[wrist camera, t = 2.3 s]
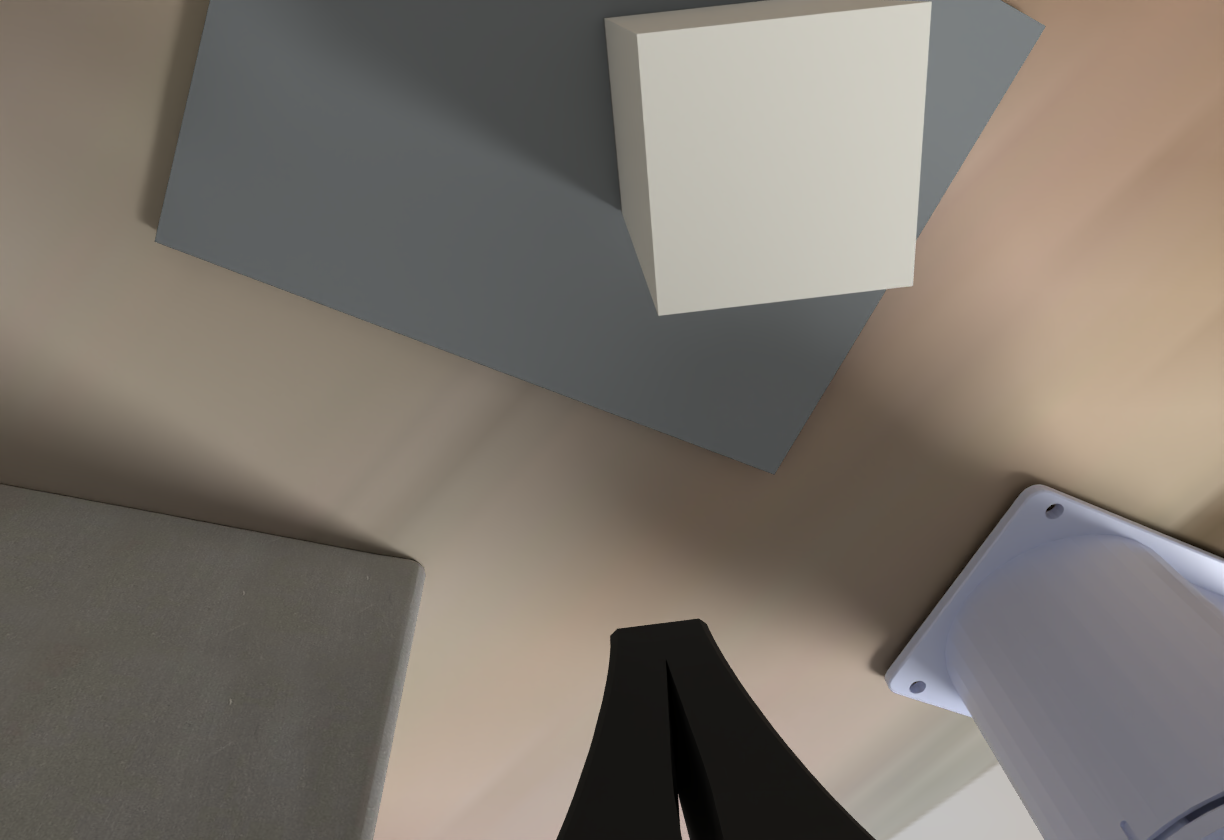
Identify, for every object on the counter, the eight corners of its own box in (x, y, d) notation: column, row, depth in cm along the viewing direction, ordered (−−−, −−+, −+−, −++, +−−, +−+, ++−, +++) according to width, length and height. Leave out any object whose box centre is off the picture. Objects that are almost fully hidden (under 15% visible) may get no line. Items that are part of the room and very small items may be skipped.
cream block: (795, -4, 18) (931, 1, 12) (794, 190, 20) (912, 285, 13) (603, 17, 18) (637, 34, 11) (621, 211, 19) (657, 315, 13)
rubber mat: (1033, 25, 19) (1045, 26, 18) (769, 465, 23) (774, 474, 23) (310, -392, 15) (302, -403, 14) (163, 235, 19) (154, 241, 19)
